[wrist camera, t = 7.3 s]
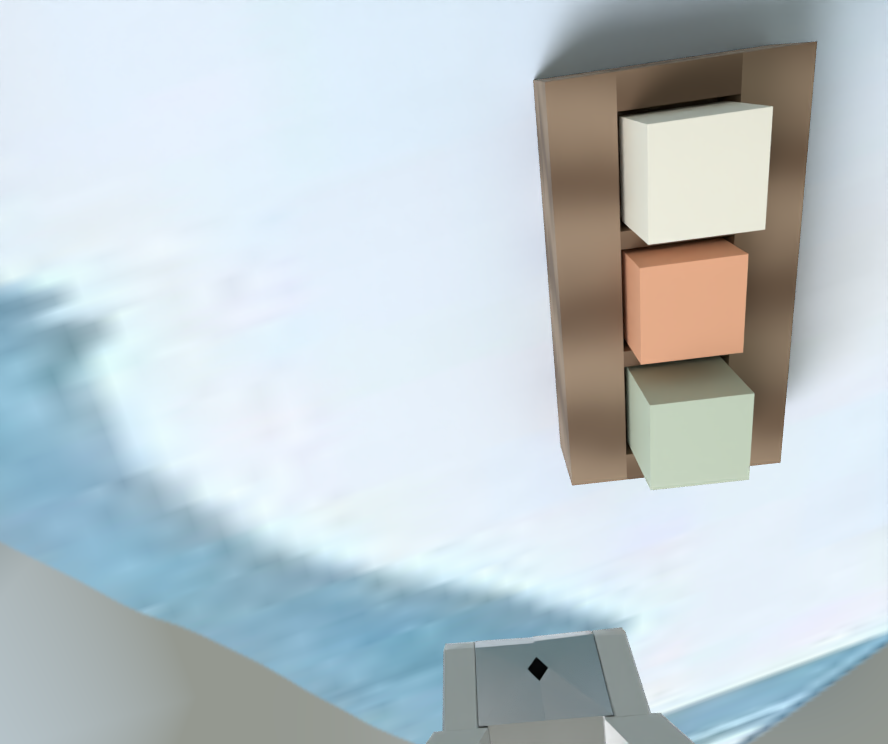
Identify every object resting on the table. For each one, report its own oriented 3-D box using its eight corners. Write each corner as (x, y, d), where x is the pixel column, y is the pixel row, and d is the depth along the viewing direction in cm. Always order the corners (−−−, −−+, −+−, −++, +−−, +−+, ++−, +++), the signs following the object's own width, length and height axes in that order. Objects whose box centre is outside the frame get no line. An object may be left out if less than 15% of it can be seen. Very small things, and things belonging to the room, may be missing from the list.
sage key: (625, 363, 37) (649, 405, 32) (716, 352, 36) (754, 393, 32) (627, 440, 39) (650, 490, 34) (713, 431, 39) (748, 479, 34)
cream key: (618, 116, 31) (647, 124, 27) (725, 100, 31) (773, 106, 27) (621, 220, 34) (648, 244, 29) (721, 207, 33) (764, 229, 29)
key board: (533, 80, 34) (544, 82, 30) (771, 44, 33) (817, 41, 29) (560, 445, 43) (572, 485, 39) (748, 424, 42) (780, 462, 38)
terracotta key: (615, 242, 36) (639, 268, 31) (709, 229, 35) (748, 254, 31) (617, 328, 38) (641, 364, 33) (707, 317, 37) (743, 352, 33)
